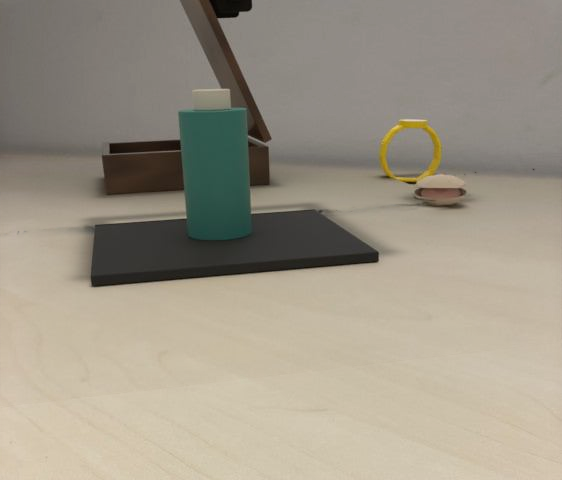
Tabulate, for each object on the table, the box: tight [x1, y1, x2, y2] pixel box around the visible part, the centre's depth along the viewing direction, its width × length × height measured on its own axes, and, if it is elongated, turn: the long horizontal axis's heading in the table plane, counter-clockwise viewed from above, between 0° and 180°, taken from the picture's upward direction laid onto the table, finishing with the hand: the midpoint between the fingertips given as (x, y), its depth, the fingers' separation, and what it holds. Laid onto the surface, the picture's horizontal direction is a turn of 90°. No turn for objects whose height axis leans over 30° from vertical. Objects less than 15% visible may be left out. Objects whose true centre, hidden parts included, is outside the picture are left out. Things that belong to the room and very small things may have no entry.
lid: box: [179, 0, 273, 144], centre depth 68 cm, size 16×12×6 cm
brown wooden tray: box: [101, 136, 271, 196], centre depth 71 cm, size 15×12×4 cm
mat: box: [90, 208, 380, 287], centre depth 49 cm, size 17×17×1 cm
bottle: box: [177, 88, 252, 241], centre depth 47 cm, size 4×4×9 cm
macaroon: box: [413, 173, 468, 207], centre depth 59 cm, size 4×5×2 cm
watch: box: [378, 118, 442, 183], centre depth 70 cm, size 6×3×6 cm, turn 97°
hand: (228, 13), depth 67 cm, fingers closed on lid, 6 cm apart
